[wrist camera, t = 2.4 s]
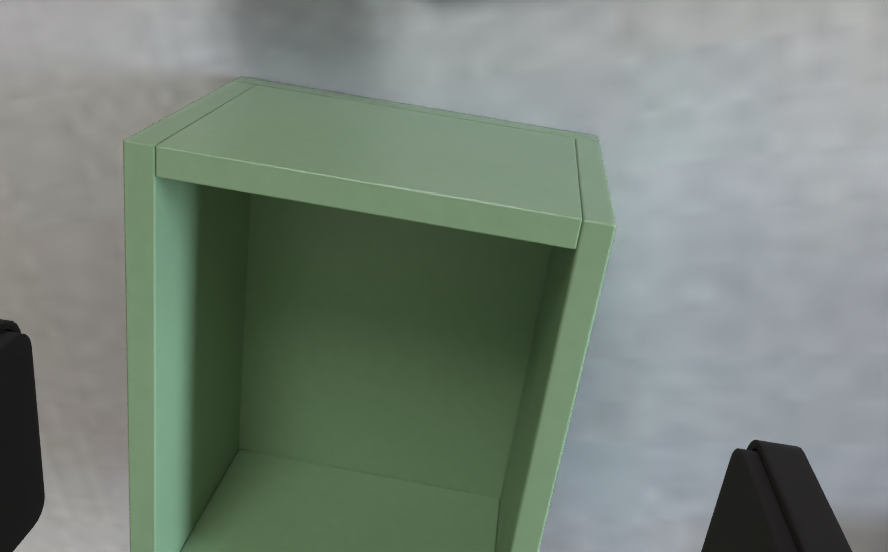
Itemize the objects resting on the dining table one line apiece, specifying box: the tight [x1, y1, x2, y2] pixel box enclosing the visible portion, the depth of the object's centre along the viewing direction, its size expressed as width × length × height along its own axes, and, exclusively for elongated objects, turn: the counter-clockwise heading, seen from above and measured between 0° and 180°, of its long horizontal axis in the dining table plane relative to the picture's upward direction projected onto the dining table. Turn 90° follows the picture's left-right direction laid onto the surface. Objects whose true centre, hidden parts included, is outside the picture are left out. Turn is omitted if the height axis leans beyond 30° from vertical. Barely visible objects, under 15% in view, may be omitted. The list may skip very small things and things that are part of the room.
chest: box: [123, 77, 616, 552], centre depth 30 cm, size 17×13×9 cm
